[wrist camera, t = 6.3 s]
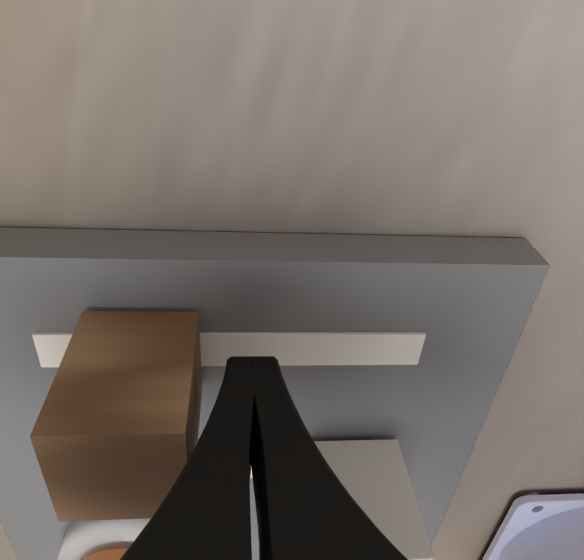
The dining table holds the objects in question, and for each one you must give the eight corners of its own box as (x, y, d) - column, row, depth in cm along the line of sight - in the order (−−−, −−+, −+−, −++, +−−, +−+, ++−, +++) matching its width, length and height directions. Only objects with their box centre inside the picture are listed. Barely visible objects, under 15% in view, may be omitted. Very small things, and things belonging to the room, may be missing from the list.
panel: (524, 238, 15) (569, 286, 13) (414, 531, 24) (430, 586, 22) (-88, 225, 13) (-148, 279, 11) (40, 547, 22) (20, 609, 20)
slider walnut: (198, 311, 14) (185, 433, 10) (202, 390, 15) (191, 516, 12) (82, 311, 13) (29, 436, 10) (98, 391, 15) (58, 521, 12)
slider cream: (397, 439, 17) (434, 558, 14) (382, 491, 19) (412, 608, 16) (310, 441, 17) (327, 563, 14) (303, 493, 19) (316, 613, 15)
